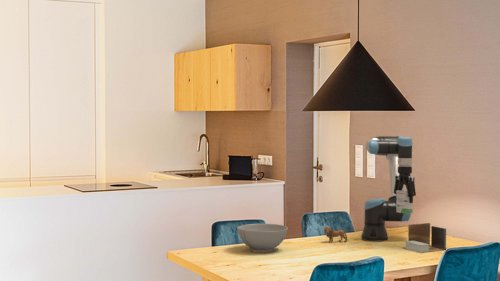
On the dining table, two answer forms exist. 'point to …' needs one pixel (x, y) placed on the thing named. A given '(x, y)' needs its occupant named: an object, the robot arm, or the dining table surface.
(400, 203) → the ink box
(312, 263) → the dining table surface
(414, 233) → the shelf
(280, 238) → the decorative bowl
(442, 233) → the bookend
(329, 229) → the lion figurine
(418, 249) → the flat grey box
